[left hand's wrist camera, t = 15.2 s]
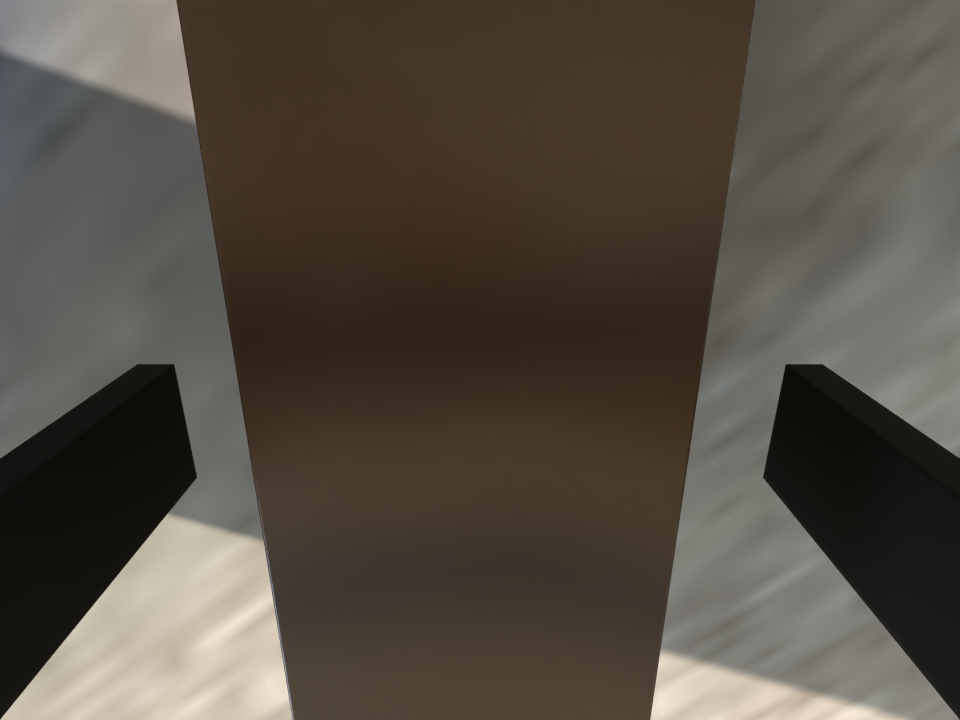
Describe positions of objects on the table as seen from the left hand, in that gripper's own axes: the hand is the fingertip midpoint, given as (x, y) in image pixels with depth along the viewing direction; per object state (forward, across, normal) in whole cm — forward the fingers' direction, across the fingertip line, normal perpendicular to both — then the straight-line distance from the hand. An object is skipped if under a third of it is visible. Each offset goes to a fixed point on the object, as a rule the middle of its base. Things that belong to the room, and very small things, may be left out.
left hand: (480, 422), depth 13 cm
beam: (+4, 0, -36) cm, 36 cm away
